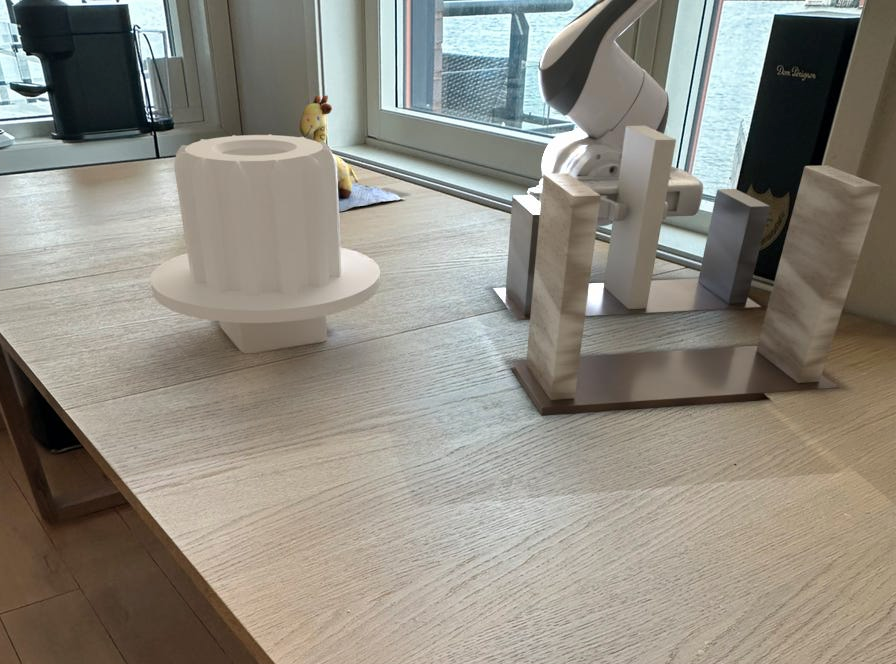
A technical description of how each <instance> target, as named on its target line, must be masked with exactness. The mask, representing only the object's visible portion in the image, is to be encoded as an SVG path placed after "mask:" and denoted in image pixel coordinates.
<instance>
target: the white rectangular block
mask: <svg viewBox="0 0 896 664" xmlns="http://www.w3.org/2000/svg"><path fill="white" fill-rule="evenodd" d="M676 141H677V139H676V138H674V137H671V136H670V135H667V134H665V133H664V134H663V133H660V132H658V131H656V130H654V129H652V128H649V127H647V126H626V130H625V137H624V144H623V151H622V158H621V165H620V173H619V180H618V188H619V194H616V201H615V202H623V203H624V204H626V206H627V211H626V213H625V215H626V217H625V220H624V221H613V222H612V224H611V230H610V237H609V244H608V245H609V246H608V252H607V259H606V266H605V273H604V280H603V283H604V287H605V288H606V289H607V290H608V291H609V292H610V293H611V294H612V295H613V296H614V297H616V298H617V299H618V300H619V301H620V302H621V303H622V304H623V305H624V306H625V307H626V308H628V309H644V308H647V304H648V298H649V292H650V286H651V281H653V280H652V279H653V274H654V269H655V264H656V258H657V253H658V245H659V240H660V236H661V235H660V234H661V228H662V223H663V219H662V218H663V212H664V206H665V201H666V195H667V189H668V183H669V178H670V172H671V167H673V166H672V165H673V162H674V161H673V160H674V153H675V149H676V143H677V142H676Z"/></svg>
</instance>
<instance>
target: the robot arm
mask: <svg viewBox="0 0 896 664" xmlns="http://www.w3.org/2000/svg"><path fill="white" fill-rule="evenodd" d="M656 2H658V0H595V2H594V3H593V4H591V5H590V6H589V7H588V8H587V9H585V10H584V11H582V13H581V14H579V15H578V16H577V17H575V18H574V19H573V20H572V21H570V22H569V23H568V24H567V25H565V27H563V28H562V29H561V30H560V31H559V32H558V33H557V34H556V36H554V37H553V39H552V40H551V41H550V42H549V44H548V46H547V47H546V49H545V50H544V51H543V53H542V55H541V57H540V59H539V61H538V66H537V78H538V87H539V91H540V97H541V98H542V102H543V103H545V104H546V105H548V106H549V107H551V108H552V109H553V110H555V111H556V112H557V113H558V114H560V115H562V116H564V117H566V118H567V119H568V120H570V122H572V123H573V125H575V126H576V127H577V128H576V129H574V130H572V131H567V132H564V133H561V134H559V135H557V136H555V137H554V138H553V139H551V141H550V142H549V143H548V144H547V146H546V148H545V150H544V153H543V156H542V159H541V176H542V177H543V174H553V173H569V174H570V175H572V176H573V177H575V178H576V179H577V180H579V181H580V182H582V183H583V184H585V185H586V186H588V187H589V188H591V189H592V190H593V191H595V192H596V193H598V194H599V195H601V198H600V206H599V213H598V221H597V227H606V226H609V225H612V222H613V221H624V220H625V217H626V215H625V213H626V211H627V206H626V204H624V203H623V202H615V201H616V194H619V188H618V180H619V173H620V165H621V158H622V151H623V144H624V137H625V130H626V126H647V127H649V128H652V129H654V130H656V131H658V132H660V133H663V134H665V131H666V128H667V124H668V120H669V119H668V118H669V111H670V100H669V94H668V92H667V91H666V90H664V88H663V87H662V86H661V85H660V84H659V83H658V82H657V81H656V80H655V79H654V78H653V77H652V76H651V75H650V74H649V73H648V72H647V71H646V69H644V68H642V67H641V66H640V65H639V64H638V63H637V62H635V60H633V59H632V58H631V57H630V56H629V54H627V53H626V52H625V51H624V50H623V49H622V48H621V47H620V46H619V44H618V43H617V42H616V41H617V39H618V38H619V37H620V36H621V35H622V34H623V33H625V31H626V30H628V28H630V27H631V26H632V25H633V24H634V23H635V22H636V21H637V20H638V19H639V18H640V17H641V16H642V15H644V14H645V13H646V12H647V11H648V10H649V9H650V8H651V7H652V6H653V5H654V4H655V3H656ZM542 184H543V178H541V179H540V180H539V184H538V185H536V186H535V187H530V188H528V190H527V196H530V195H532V196H533V197H534V198H535V199H536V200H538V201H539V202H540V203H541V195H542ZM703 192H704V184H703V182H702V181H701V180H700V179H698V178H697V177H696V176H694V175H693V174H691V173H689V172H688V171H686V170H683V169H682V168H679V167H675V166H671V172H670V178H669V183H668V189H667V195H666V201H665V206H664V212H663V218H662V220H666V219H667V218H669V217H670V218H672V217H673V218H674V217H693V216H695V215H697V214H698V213H699V211H700V209H701V208H700V207H701V205H702V200H703V195H704V193H703Z"/></svg>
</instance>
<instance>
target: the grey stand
mask: <svg viewBox="0 0 896 664" xmlns="http://www.w3.org/2000/svg"><path fill="white" fill-rule="evenodd" d="M540 206H541V203H540V202H539V201H538V200H536V199H535V198H534V197H533V196H532V195H530V196H528V195H512V196H511V208H510V209H511V210H510V223H509V239H508V251H507V252H508V253H507V266H506V267H507V268H506V280H505V281H506V282H505V287H493V288H492V290H493V291H494V292H495V293H496V295H497V297H499V299H500V300H501V302H502V303H503V304H504V305H505V307H506V308H507V309H508V310H509V312H510V313H511V315H512V316H513V317H514V318H515V320H516V321H530V316H531V305H532V294H533V283H534V272H535V261H536V250H537V239H538V228H539V217H540ZM712 208H713V209H712V213H711V218H710V222H709V227H708V232H707V236H706V242H705V247H704V251H703V256H702V259H701V260H702V261H701V265H700V270H699V275H698V277H697V278H679V279H678V278H677V279H657V280H655V279H654V280H652V281H651V286H650V292H649V298H648V304H647V308H644V309H628V308H626V307H625V306H624V305H623V304H622V303H621V302H620V301H619V300H618V299H617V298H616V297H614V296H613V295H612V294H611V293H610V292H609V291H608V290H607V289H606V288H605V287H604V282H594V283H593V282H592V283H589V290H588V298H587V305H586V313H585V318H586V317H587V318H589V317H606V316H622V315H623V316H624V315H642V314H660V313H662V314H663V313H678V312H679V313H681V312H697V311H700V312H701V311H717V310H718V311H719V310H737V309H753V308H762V306H761V305H760V304H759V303H757V302H755V300H753V299H751V298H750V297H749V293H750V290H751V285H752V282H753V278H754V273H755V271H756V270H755V269H756V264H757V263H758V257H759V252H760V249H761V246H762V245H761V244H762V241H763V237H764V234H765V233H764V232H765V230H766V225H767V221H768V217H769V212H770V208H771V205H768V204H767V203H765V202H763V201H761V200H758V199H757V198H755V197H752V196H750V195H748V194H747V193H745V192H743V191H741V190H738V189H736V188H718V189H717V190H716V194H715V198H714V203H713V207H712Z"/></svg>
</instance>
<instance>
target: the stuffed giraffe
mask: <svg viewBox="0 0 896 664" xmlns="http://www.w3.org/2000/svg"><path fill="white" fill-rule="evenodd" d="M328 99H329V95H328V94H327V95H326V94H325V95H324V96H321V95H319V94H317V95H315V96H314V100H313V101H312V103H308V104H307V105H306V107H305V108H304V110H303V112H302V115H301V118H300V121H299V132H300V134H301V136H302V137H304V138H305V139H307V138H308V137H310V136H312V134H313V138H312V140H314V141H317V142H325V143H326V144H327V134H328V129H327V124H328V123H327V121H328V119H327V115H329V114H330V113H331V112H332V111H333V107H332V104H329V103H328ZM333 155H334V156H335V158H336V162H337V179H338V201H339V213H340V212H343V211H345V212H346V211H347V210H350V209H352V208H357V207H360V206H361V207H363V206H369V205H371V204H378V203H381V202H390V201H392V202H393V201H399V200H404V198H403V197H400V196H399V195H398V194H395V193H394V192H393V191H389V190H388V191H387V190H383V189H380V188H378V187H374V186H373V187H372V186H369V185H361V184H359V179H358V178H357V176H356V174H355V172H354V171H353V168H352V167H351V166H350V165H349V164H347V163H346V162H345V161H344V160H343V159H342V158H340V157H339V156H338V155H336V154H334V153H333ZM351 177H353V179H354V182H352V181H353V180H352V178H351Z"/></svg>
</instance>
